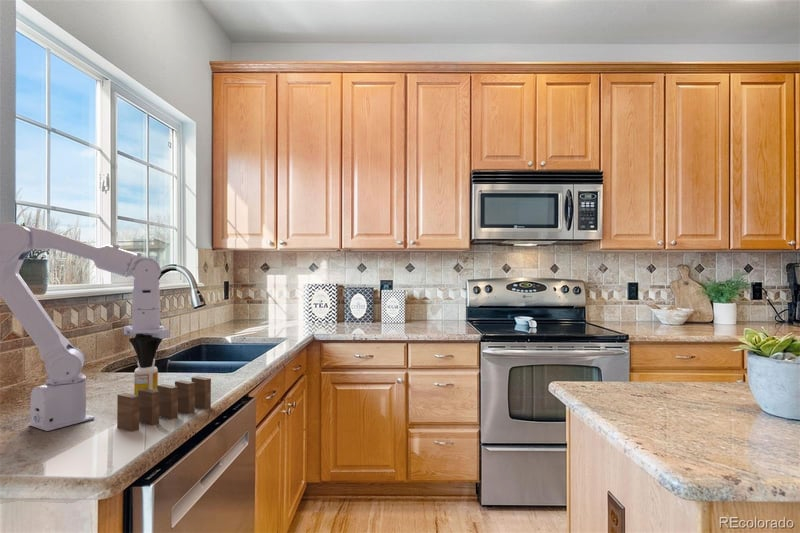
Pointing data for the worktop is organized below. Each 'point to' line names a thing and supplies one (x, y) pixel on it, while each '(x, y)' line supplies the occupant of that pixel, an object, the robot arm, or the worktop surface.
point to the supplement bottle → (145, 378)
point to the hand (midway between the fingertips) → (146, 367)
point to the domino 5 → (202, 392)
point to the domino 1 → (128, 412)
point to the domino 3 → (168, 401)
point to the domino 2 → (148, 406)
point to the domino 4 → (186, 396)
